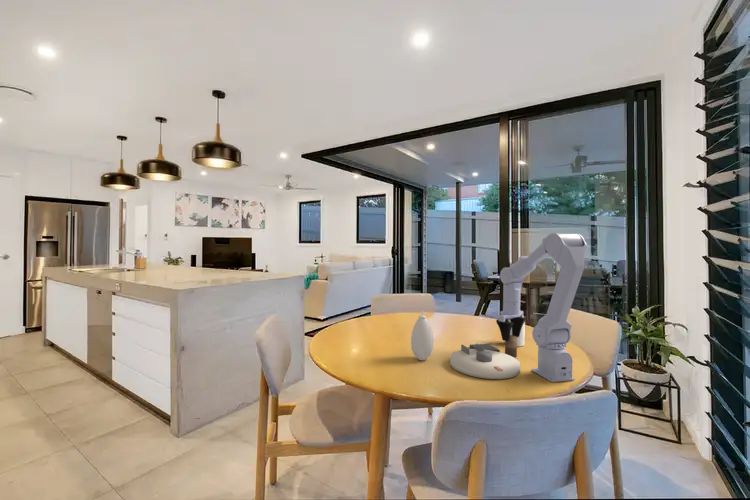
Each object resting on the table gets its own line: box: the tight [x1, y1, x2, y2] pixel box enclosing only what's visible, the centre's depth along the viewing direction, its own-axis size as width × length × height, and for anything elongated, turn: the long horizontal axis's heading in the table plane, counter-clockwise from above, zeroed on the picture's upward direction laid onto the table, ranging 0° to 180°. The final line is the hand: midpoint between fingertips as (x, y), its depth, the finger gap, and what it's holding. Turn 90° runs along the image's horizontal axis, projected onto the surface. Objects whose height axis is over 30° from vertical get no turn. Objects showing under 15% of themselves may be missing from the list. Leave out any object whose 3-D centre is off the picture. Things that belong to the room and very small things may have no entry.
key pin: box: [504, 335, 518, 359], centre depth 123 cm, size 4×4×7 cm
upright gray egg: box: [410, 308, 435, 361], centre depth 119 cm, size 8×8×18 cm
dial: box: [449, 343, 521, 380], centre depth 113 cm, size 22×22×4 cm
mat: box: [469, 343, 501, 352], centre depth 130 cm, size 8×8×1 cm
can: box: [508, 314, 526, 348], centre depth 137 cm, size 6×6×12 cm
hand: (510, 338), depth 123 cm, fingers open, 7 cm apart
